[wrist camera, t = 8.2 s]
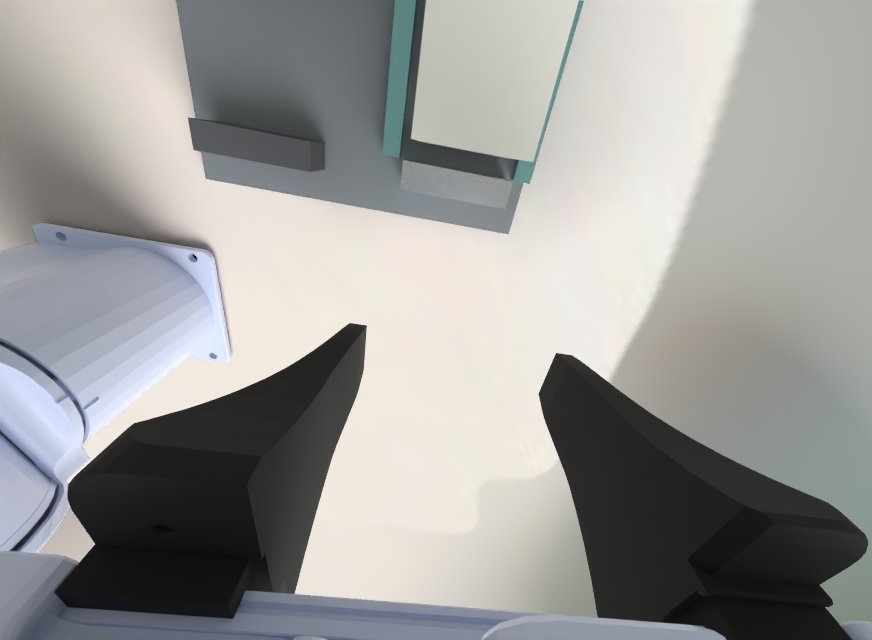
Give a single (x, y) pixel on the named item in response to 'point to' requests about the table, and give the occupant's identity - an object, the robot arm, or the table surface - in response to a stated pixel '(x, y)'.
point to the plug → (489, 73)
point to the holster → (257, 145)
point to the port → (432, 175)
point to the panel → (322, 102)
